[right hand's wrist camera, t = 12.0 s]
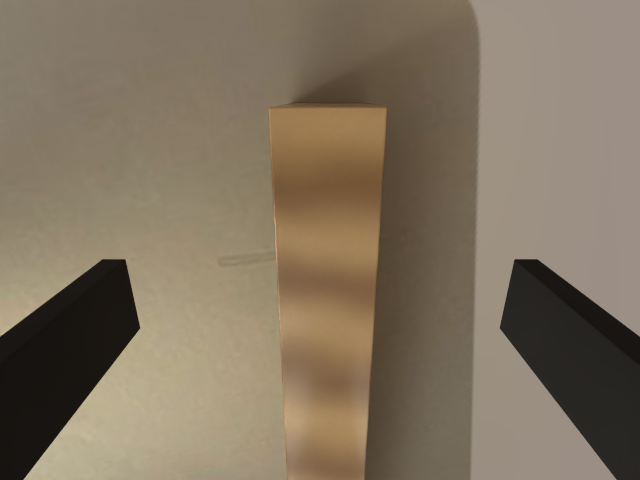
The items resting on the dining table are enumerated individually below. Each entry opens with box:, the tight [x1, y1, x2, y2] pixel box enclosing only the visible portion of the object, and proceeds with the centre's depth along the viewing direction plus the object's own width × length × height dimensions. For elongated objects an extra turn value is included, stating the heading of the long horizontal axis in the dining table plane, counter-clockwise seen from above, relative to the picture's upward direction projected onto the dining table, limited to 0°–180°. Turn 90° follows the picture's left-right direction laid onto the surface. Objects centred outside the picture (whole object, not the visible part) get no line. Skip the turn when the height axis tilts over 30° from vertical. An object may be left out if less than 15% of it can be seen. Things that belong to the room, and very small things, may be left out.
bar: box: [269, 103, 387, 480], centre depth 28 cm, size 51×5×8 cm, turn 0°
